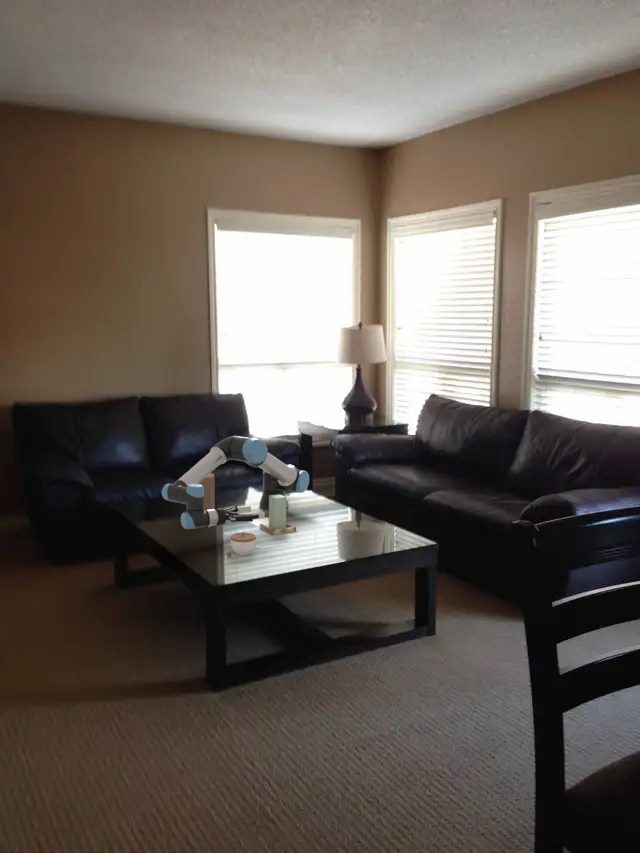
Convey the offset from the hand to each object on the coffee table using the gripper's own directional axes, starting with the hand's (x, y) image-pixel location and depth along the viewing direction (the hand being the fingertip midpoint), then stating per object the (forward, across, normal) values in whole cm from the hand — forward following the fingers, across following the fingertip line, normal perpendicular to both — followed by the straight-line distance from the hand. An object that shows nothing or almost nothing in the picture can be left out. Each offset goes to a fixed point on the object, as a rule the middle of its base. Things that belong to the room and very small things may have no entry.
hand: (257, 511), depth 348 cm
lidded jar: (-19, +24, -11) cm, 32 cm away
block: (-7, -46, -10) cm, 48 cm away
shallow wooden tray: (+11, 0, -10) cm, 15 cm away
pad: (+11, -15, -10) cm, 21 cm away
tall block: (+11, 0, -10) cm, 15 cm away
